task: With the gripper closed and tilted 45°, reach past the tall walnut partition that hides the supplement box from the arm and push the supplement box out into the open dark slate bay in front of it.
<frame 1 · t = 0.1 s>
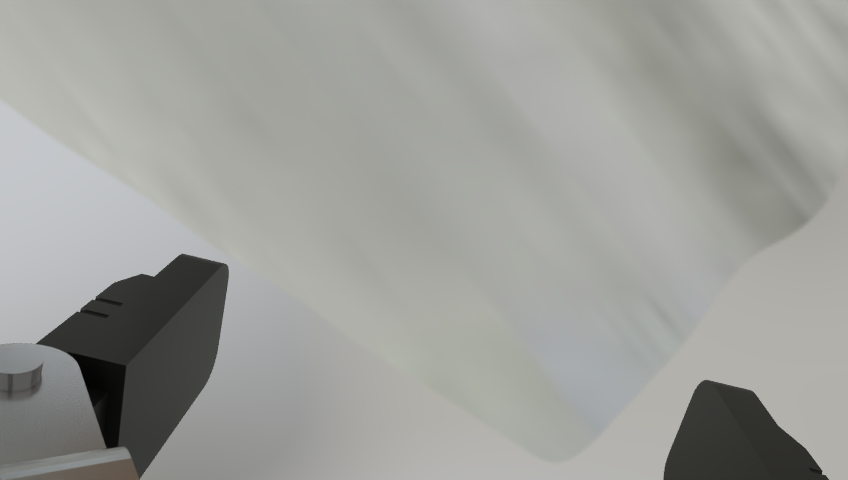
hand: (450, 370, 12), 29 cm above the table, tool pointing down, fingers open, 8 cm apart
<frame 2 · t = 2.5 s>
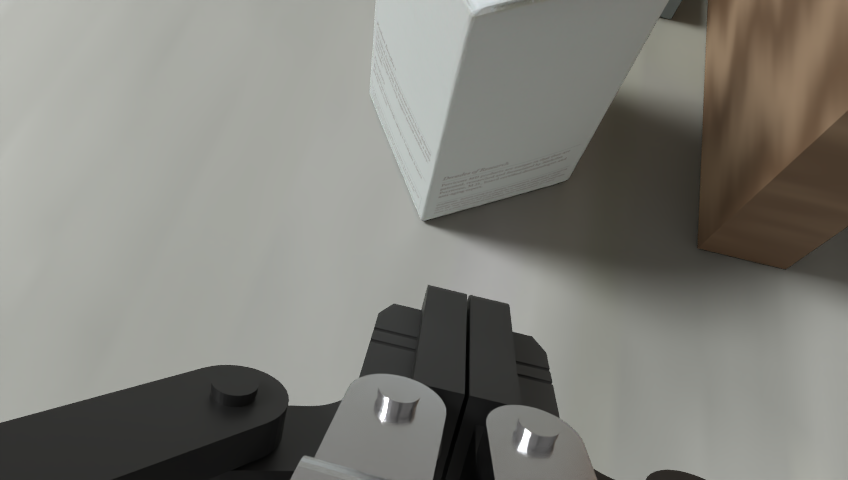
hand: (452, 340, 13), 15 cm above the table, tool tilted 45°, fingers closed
walnut partition: (743, 113, 35), on the table
supplement box: (466, 138, 33), on the table
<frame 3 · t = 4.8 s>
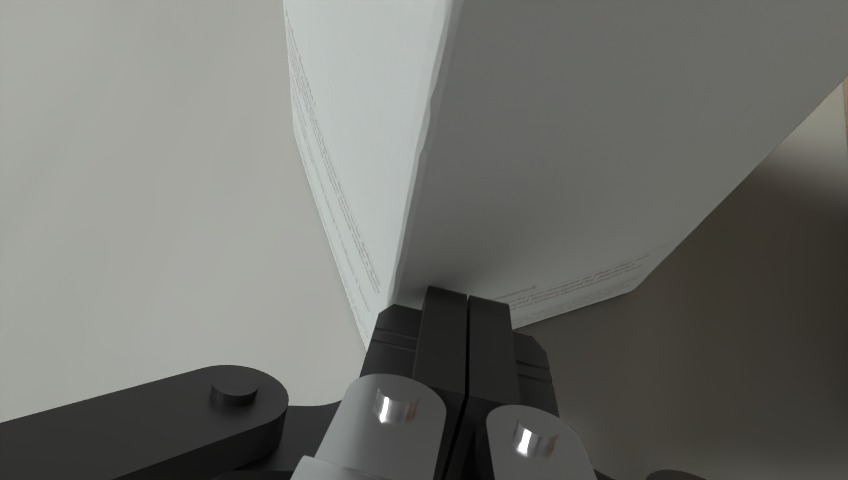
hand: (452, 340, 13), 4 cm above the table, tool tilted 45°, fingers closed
supplement box: (458, 212, 19), on the table, touching gripper
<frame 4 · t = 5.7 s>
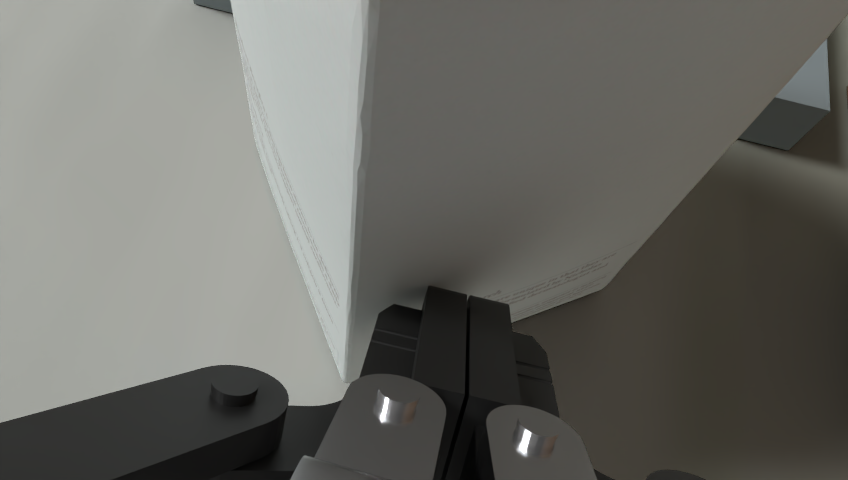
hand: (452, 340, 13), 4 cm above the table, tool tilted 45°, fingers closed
supplement box: (425, 216, 19), on the table, touching gripper
slate bay: (486, 104, 21), on the table
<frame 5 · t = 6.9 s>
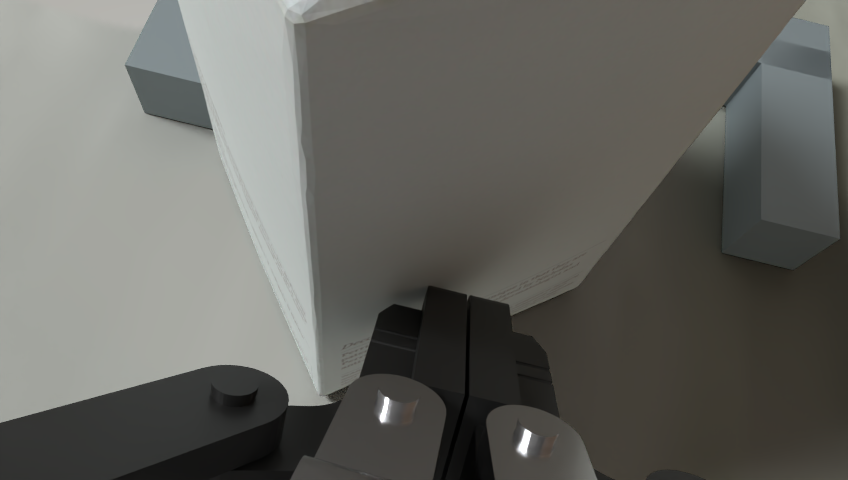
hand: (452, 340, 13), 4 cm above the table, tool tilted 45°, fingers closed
supplement box: (396, 222, 19), on the table, touching gripper
slate bay: (463, 223, 19), on the table
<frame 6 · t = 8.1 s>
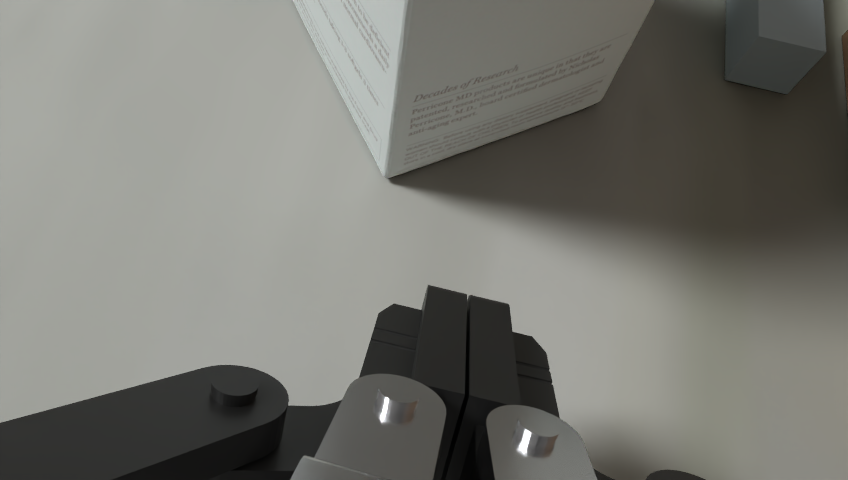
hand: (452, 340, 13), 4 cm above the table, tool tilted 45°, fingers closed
supplement box: (442, 52, 22), on the table
slate bay: (500, 52, 22), on the table
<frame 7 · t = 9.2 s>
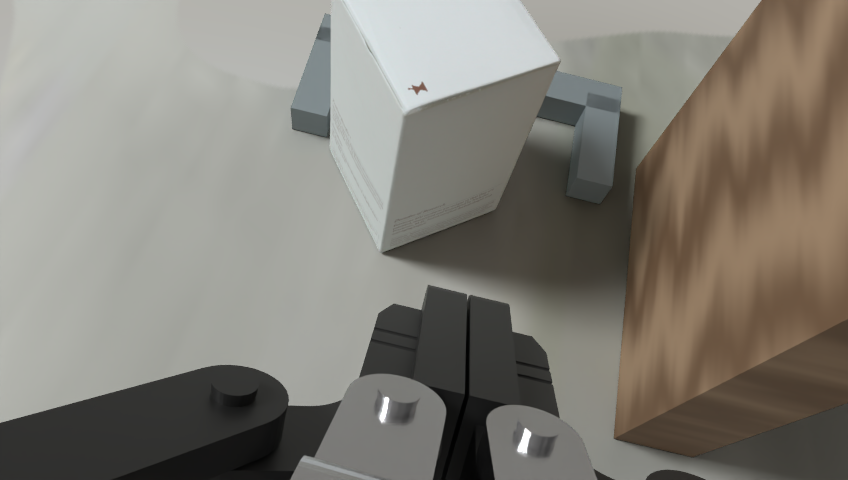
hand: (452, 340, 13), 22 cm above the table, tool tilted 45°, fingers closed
walnut partition: (661, 299, 39), on the table
supplement box: (411, 180, 40), on the table
slate bay: (443, 181, 40), on the table
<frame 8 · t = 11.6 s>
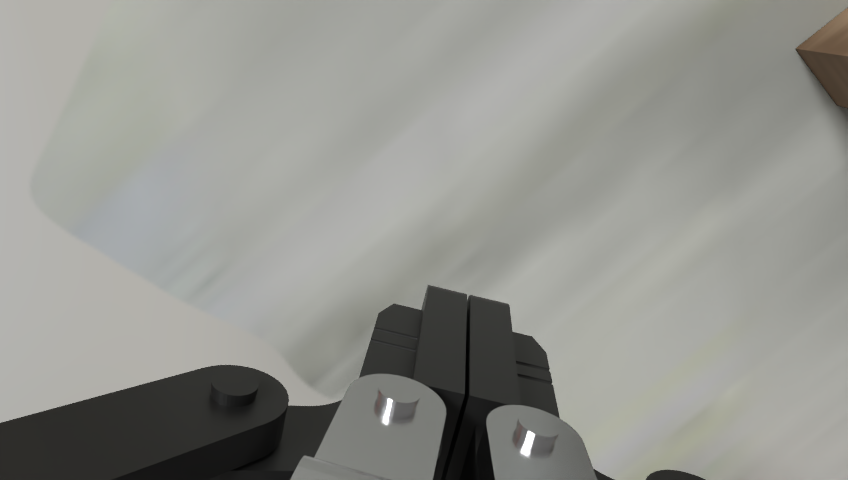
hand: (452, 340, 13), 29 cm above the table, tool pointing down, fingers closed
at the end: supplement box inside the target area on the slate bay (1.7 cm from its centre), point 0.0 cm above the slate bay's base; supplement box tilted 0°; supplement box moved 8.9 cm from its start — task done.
